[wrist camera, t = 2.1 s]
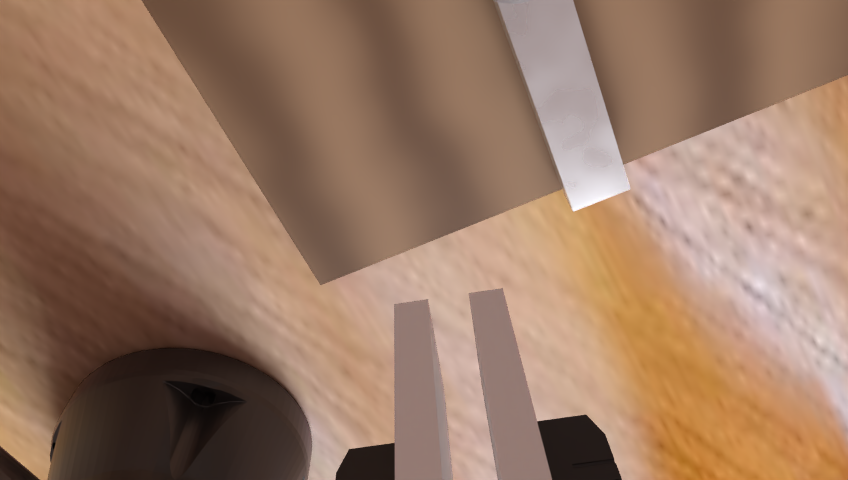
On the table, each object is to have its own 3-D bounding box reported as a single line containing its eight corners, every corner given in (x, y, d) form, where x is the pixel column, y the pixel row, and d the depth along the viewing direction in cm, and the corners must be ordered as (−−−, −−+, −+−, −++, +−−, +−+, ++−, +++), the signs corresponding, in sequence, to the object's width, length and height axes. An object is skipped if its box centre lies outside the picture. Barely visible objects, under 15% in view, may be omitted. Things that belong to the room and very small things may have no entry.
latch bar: (428, -105, 24) (433, -101, 21) (541, -161, 23) (562, -165, 20) (544, 199, 30) (560, 234, 28) (635, 162, 30) (662, 195, 27)
